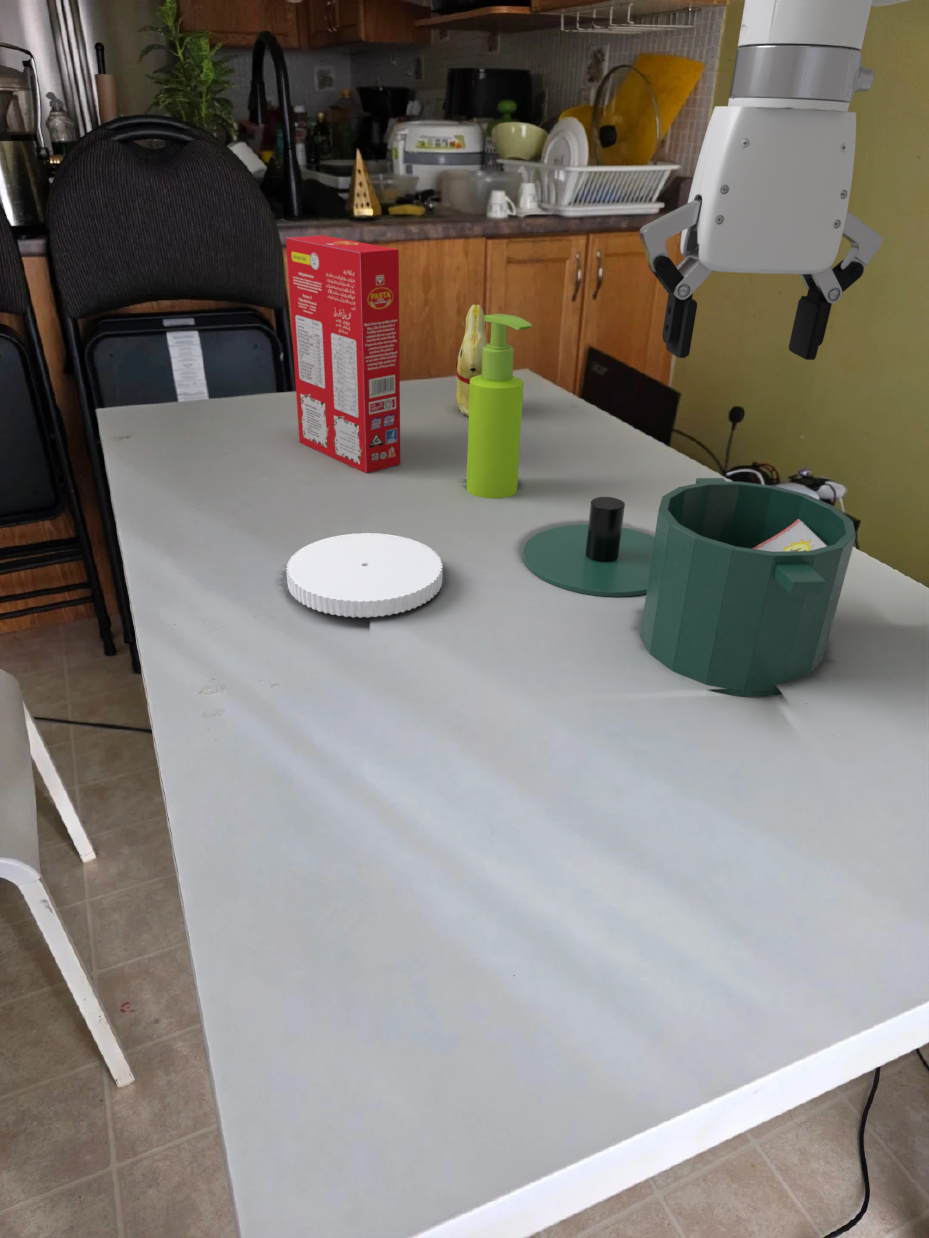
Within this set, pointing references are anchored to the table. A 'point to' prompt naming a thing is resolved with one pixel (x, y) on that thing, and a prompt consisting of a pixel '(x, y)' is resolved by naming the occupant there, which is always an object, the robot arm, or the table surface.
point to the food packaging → (346, 348)
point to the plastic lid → (364, 575)
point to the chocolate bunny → (470, 355)
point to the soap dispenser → (495, 415)
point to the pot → (742, 585)
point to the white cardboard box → (793, 539)
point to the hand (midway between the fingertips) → (739, 354)
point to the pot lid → (593, 554)
